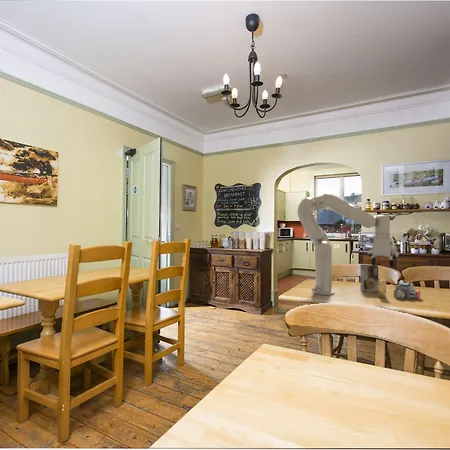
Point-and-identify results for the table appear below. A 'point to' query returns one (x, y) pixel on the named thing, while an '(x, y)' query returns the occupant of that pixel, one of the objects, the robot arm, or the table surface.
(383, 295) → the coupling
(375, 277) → the coffee box
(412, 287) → the valve body
